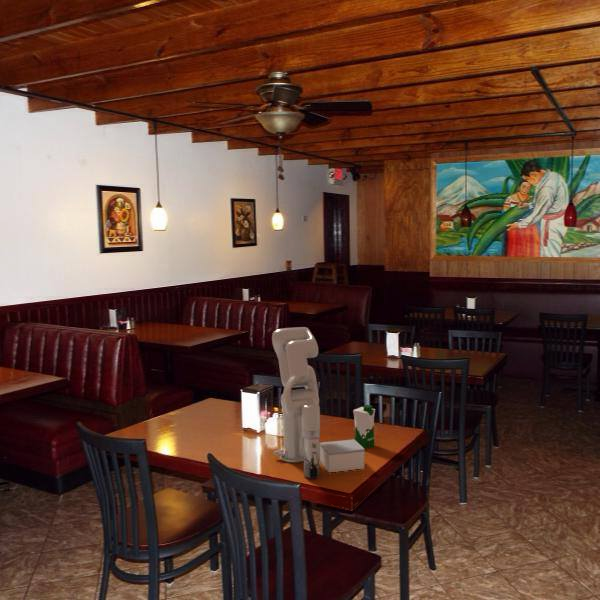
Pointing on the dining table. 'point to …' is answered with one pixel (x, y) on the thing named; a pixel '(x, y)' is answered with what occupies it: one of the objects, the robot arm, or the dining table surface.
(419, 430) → the dining table surface
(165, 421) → the dining table surface
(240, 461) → the dining table surface
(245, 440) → the dining table surface
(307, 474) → the gray cube
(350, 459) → the box
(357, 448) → the lid
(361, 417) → the milk carton
